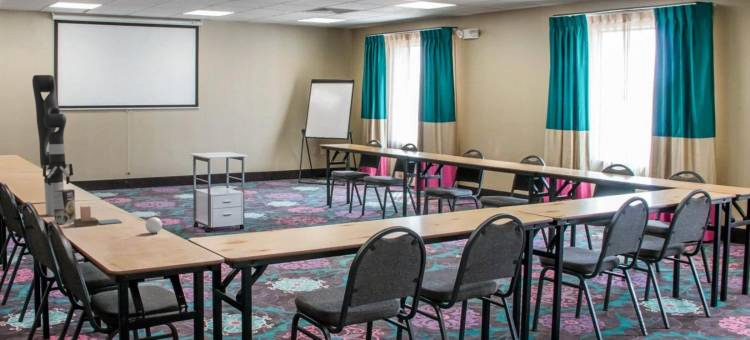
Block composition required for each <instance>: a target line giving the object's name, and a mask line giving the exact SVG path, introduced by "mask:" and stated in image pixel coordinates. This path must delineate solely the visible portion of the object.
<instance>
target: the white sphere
mask: <svg viewBox="0 0 750 340" xmlns="http://www.w3.org/2000/svg"><path fill="white" fill-rule="evenodd" d="M162 227H163V222H162V221H161V219H160V218H158V217H150V218H148V219H147V220H146V222H145V229H146V231H148V233H150V234H157V233H159V232H161V230H162ZM156 232H157V233H156Z"/></svg>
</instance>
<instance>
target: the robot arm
mask: <svg viewBox="0 0 750 340" xmlns="http://www.w3.org/2000/svg"><path fill="white" fill-rule="evenodd" d="M31 84H32V91H33V96H34V102H35V112H36V115H35V116H36V124H37V127H36V128H37V133H38V141H39V142H38V144H39V163H40V167H41V169H42V177H43V178H44V179H43V182H44V200H45V201H44V202H45V216H49V217H50V216H51V217H54V195H53V192H54V191H59V190H65V188H64V175H65V176H66V177H65V180H66V185H69V184H70V183H71V182H70V179H71V178H70V177H72V176H73V175H74V168H73V164H72V163H68V164H67V163H66V151H65V149H66V148H65V143H64V132H65V128H66V123H67V117H66V115H65V114H63V113H60V112H61V111H60V110H61V109H60V106H59V103H58V94H57V93H58V92H57V84H56V79H55V76H54V75H51V74H36V75H33V77H32V83H31ZM42 93H48V94H47V95H46V96H45V98H43V95H42ZM57 128H58V129H57ZM56 129H57V130H56ZM47 147H48V151H47ZM66 168H67V169H68V170H69V172H67V170H65V169H66ZM47 170H48V171H49V172H48V173H47Z"/></svg>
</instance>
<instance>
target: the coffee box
mask: <svg viewBox="0 0 750 340" xmlns="http://www.w3.org/2000/svg"><path fill="white" fill-rule="evenodd" d="M53 195H54V216H53V219H54V222H55V221H56V222H57V223H58V224H57V225H59V224H60V225H67V224H70V223H74V219H77V218H76V217H77V216H76V198H75V197H76V195H75V189H64V190H59V191H54V192H53Z"/></svg>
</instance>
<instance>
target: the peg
mask: <svg viewBox="0 0 750 340" xmlns="http://www.w3.org/2000/svg"><path fill="white" fill-rule="evenodd" d="M79 209H80V211H79V213H80V218H81V221H85V220H91V218H92V216H91V215H92V212H91V206H90V205H81V206H79Z"/></svg>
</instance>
